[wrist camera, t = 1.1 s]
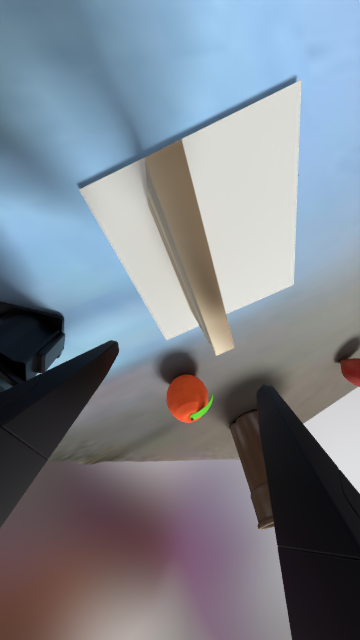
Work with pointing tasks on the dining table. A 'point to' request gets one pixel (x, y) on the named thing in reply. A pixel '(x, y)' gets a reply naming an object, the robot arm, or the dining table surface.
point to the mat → (215, 210)
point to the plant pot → (253, 465)
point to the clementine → (187, 398)
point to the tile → (186, 241)
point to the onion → (351, 370)
